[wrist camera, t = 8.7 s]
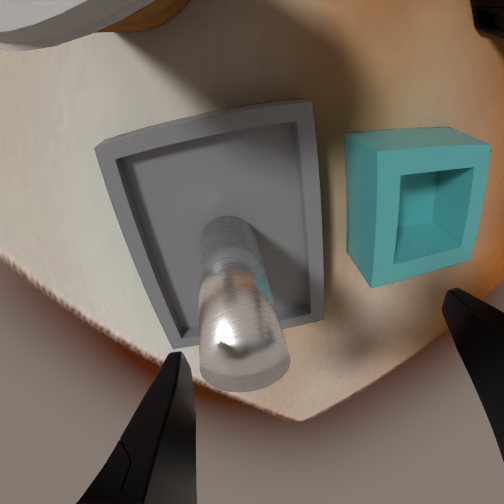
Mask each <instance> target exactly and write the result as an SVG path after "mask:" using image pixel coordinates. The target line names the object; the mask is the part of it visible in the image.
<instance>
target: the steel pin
mask: <svg viewBox="0 0 504 504" xmlns="http://www.w3.org/2000/svg"><path fill="white" fill-rule="evenodd" d="M199 354H200V372H201V375H202V377H203V378H204V380H205V381H206V382H207V383H209V384H210V385H212V386H213V387H216V388H218V389H221V390H225V391H230V392H248V391H254V390H258V389H262V388H264V387H267V386H269V385H271V384H273V383H275V382H276V381H278V380H279V379H280V378H281V377H282V376H283V375H284V374H285V373H286V372H287V370H288V368H289V365H290V356H289V352H288V348H287V345H286V341H285V338H284V334H283V331H282V327H281V324H280V320H279V317H278V313H277V310H276V306H275V303H274V299H273V296H272V292H271V289H270V285H269V282H268V278H267V275H266V271H265V268H264V264H263V261H262V257H261V254H260V250H259V247H258V243H257V240H256V236H255V233H254V230H253V229H252V227H251V226H250V224H249V223H247V222H246V221H245V220H243V219H241V218H239V217H235V216H221V217H218V218H215V219H213V220H212V221H210V222H209V223H208V224H207V225H206V226H205V227H204V228H203V230H202V232H201V234H200V239H199Z"/></svg>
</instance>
